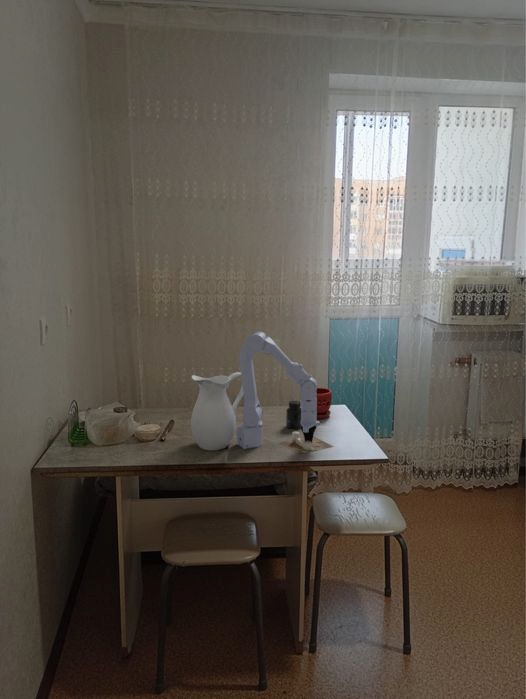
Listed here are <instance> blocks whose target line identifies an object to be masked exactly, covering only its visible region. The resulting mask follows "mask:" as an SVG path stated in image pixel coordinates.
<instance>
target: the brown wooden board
mask: <svg viewBox="0 0 526 699" xmlns="http://www.w3.org/2000/svg"><path fill="white" fill-rule="evenodd" d="M300 438H301V439H302V440H304V441H305V439H304V437H300ZM279 444H280V445H281V446H283V447H285V448H287V449H288V450H290V451H292V452H294V453H295V454H297V455H303V454H307V453H312V452H318V451H321V450H326V449H330V448H334V445H332V444H330V443H328V442H327V441H324V440H322V439H319V438H318V437H315V436H314V435H313V440H312V444H311V450H303V447H301V446H300V445H298V444H297V443H296V442H292V439H291V440H287V441H286V440H285V441H281V442H279Z"/></svg>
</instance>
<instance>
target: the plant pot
mask: <svg viewBox="0 0 526 699" xmlns="http://www.w3.org/2000/svg"><path fill="white" fill-rule="evenodd" d="M316 394H317V396H316V398H317V419H323V418H327V417H329V416H330V415H331V410H330V409H331V406H332V401H333V400H332V399H333V392H332V389H331V388H325V387H317V390H316Z"/></svg>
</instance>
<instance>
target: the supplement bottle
mask: <svg viewBox="0 0 526 699" xmlns="http://www.w3.org/2000/svg"><path fill="white" fill-rule="evenodd" d="M285 411H286V415H285V418H286V419H285V428H286V429H289V430H301V426H302V425H301V401H298V400H290V401H288V408H286V410H285Z"/></svg>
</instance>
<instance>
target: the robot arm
mask: <svg viewBox="0 0 526 699" xmlns="http://www.w3.org/2000/svg"><path fill="white" fill-rule="evenodd" d="M240 349H241V350H240V352H239V353H238V361H239V367H240V369H239V370H240V373H241V377H242V378H241V377H240V378H241V385H242V384H243V392H244V395H243V398H244V405H243V415H242V421H243V424H241V426H238V427H237V429H236V445H237V446H239V447H241V448H242V449H243V450H245V449H246V450H247V449H251V448H258V447H261V446H262V445H263V437H264V436H263V432H264V431H263V421H262V419H261V418H262V417H263V415H264V410H263V408H262V406H261V405H260V404H261V403H260V400H259V398H258V391H257V382H256V377H255V376H256V375H255V368H254V366H255V365H254V361H253V360H254V359H253V358H254V357H255V355H256V354H258V353H259V352H261V353H263V354H270V355H271V356H272V357H273V358H274V359H275V360H276V361H277V362H279V363H280V365H281V366H282V367H284V368H285V374H286V375H287V376H288V377H289V378H290V379H291V380H292V381H293V382H294V383H295V384H296V386H298V387H299V389H300V392H301V398H300V405H301V406H300V408H301V425H302V426H301V429H300V431H301V432H302V434H303V438H304V439H305V441H311V442H312V440H313V436H314V434H315V432H316V430H317V427H318V426H317V425H320V422H321V421H319V420H317V419H318V418H317V398H316V396H317V394H316V390H317V388H318V381H317V379H316V378H315V377H313V375H311V374H310V373H308V372H307V371H306V370H305V369H304V368H303V364H301V363H298V362H295V361H294V362H293V361H292V360H291V359H290V358H289V357H288V356H287V355H286V353H284V351H283V350H282V349H281V348H280V347H279V346H278V345H277V344H276V342H275V341H274V340H273V339H272V338H271V337H270V336H267V333H265V332H263V331H260V330H259V331H255V332H254V333H253V334H252V335H250V336H249V337H248V338H247V339H246V340H244V343H243V345H242V348H240ZM261 350H262V351H261Z"/></svg>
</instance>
